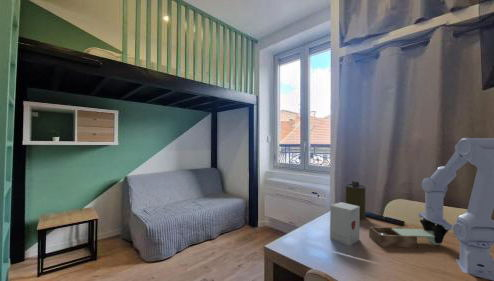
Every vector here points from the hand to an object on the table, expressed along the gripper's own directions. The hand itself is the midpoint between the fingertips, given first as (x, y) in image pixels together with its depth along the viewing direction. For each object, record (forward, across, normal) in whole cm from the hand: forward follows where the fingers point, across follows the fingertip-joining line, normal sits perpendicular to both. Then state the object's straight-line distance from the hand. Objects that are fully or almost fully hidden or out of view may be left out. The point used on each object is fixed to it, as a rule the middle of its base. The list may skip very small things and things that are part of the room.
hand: (433, 240), depth 91 cm
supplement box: (+2, +2, +36) cm, 36 cm away
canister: (+2, +33, +18) cm, 37 cm away
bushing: (+1, 0, +20) cm, 20 cm away
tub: (+2, 0, +17) cm, 17 cm away
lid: (+1, 0, +7) cm, 7 cm away
